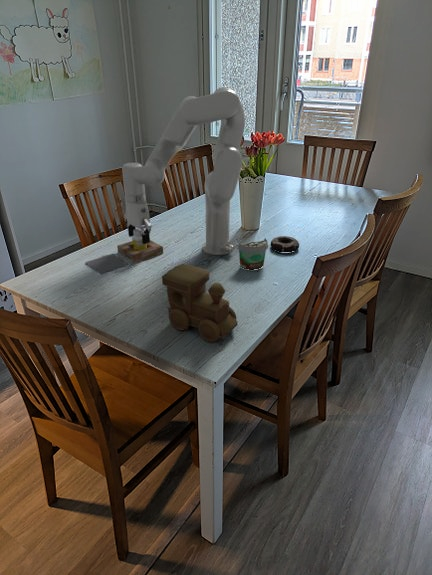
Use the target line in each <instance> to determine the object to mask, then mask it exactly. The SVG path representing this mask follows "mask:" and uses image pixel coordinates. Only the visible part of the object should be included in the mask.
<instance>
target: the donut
mask: <svg viewBox="0 0 432 575" xmlns="http://www.w3.org/2000/svg"><path fill="white" fill-rule="evenodd" d="M270 247H271V249H272V250H273V249H274V250H276V251H279V252H292V251H295V252H297V251H299V248H300V242H299V240H298V239H296V238H295V237H293V236H287V235H282V236H281V235H280V236H276V237H273V239H272V240H271V241H270ZM274 250H273V251H274ZM296 250H297V251H296ZM276 251H275V252H276ZM279 252H278V253H279Z"/></svg>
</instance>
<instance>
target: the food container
mask: <svg viewBox="0 0 432 575" xmlns="http://www.w3.org/2000/svg"><path fill="white" fill-rule="evenodd" d="M268 249H269V242H268V239H267V238H264V240H261V241H251V242H248V243H246V244H240V243H238V245H237V250H238V251H239V252H238V255H239V257H238V258H239V267H242V268H244V269H249V270H254V269H259V268H261V267H262V266H263V267H264V263H265V258H266V252H267V250H268ZM242 268H241V269H242ZM244 269H243V270H244Z"/></svg>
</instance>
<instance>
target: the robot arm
mask: <svg viewBox="0 0 432 575" xmlns="http://www.w3.org/2000/svg"><path fill="white" fill-rule="evenodd" d="M217 121H220V127H219V131H218V132H219V133H218V136H217V139H216V144H215V147H214V150H213V154H212V155H213V156H212V159H213V162H214V166H213V171H211V172H209V173H208V174H207V176H206V177H205V181H204V197H205V200H204V201H205V243H204V244H202V246H201V247H202V248H201V250H202V252H204V253H205V254H208V255H212V256H225V255H228V254H232V253H233V252H234V250H235V246H234V245H233V244H232V241H231V240H230V222H231V221H230V219H231V218H230V216H231V215H230V214H231V200H232V199H233V197H234V195H235V192H236V189H237V186H238V182H239V178H240V175H241V172H242V166H243V156H242V154H241V152H240V149H241V145H242V144H241V143H242V140H243V136H244V131H245V126H246V125H245V124H246V117H245V111H244V108H243V105H242V103H241V100H240V97H239V95H238V93H236V91H234V90H233V89H232V88H229V87H227V86H221V87H218V88H217V89H216V90H215V91H214V92H213V93H211V94H206V95H201V96H198V97H196V96H193V95H189V96H186V97H185V98H184V99H183V100H181V102H180V104H179V105H178V107H177V109H176V110H175V112H174V114H173V116H172V118H171V120H170V121H169V123H168V125H167V127H166V129H165V130H164V132H163V133H162V134H161V136H160V138H159V140H158V142H157V144H156V145H155V146H154V148H153V150H152V152H151V154H150V155H149V156H148V158H147V160H146V162H145V163H144V164H145V165H142V164H141V163H140V162H127V163H124V164H123V165H122V167H121V170H122V171H121V172H122V180H123V190H124V199H125V213H124V214H123V216H124V218H125V222H126V227H127V232H128V237H129V238H132V236H133V235H134V234H133V230H134V229H138V228H139V229H141V232H142V244H147V243H150V240H151V238H150V234H151V231H152V228H153V227H152V224H151V219H150V212H149V206H148V204H147V199H146V189H145V188H146V186H154V187H155V186H159V185H161V184H162V183H163V182H164V180H165V171H166V169H167V168H168V165H169V164H170V162H171V161H172V159H173V158H174V157H175V155H176V154H177V153H179V151H181V150H182V149H183V148H185V146H186V144H187V143H188V141H189V140H190V138H191V136H192V134H193V132H194V131H195V129H196V128H197V127H198V126H202V125H207V124H210V123H215V122H217Z"/></svg>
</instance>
